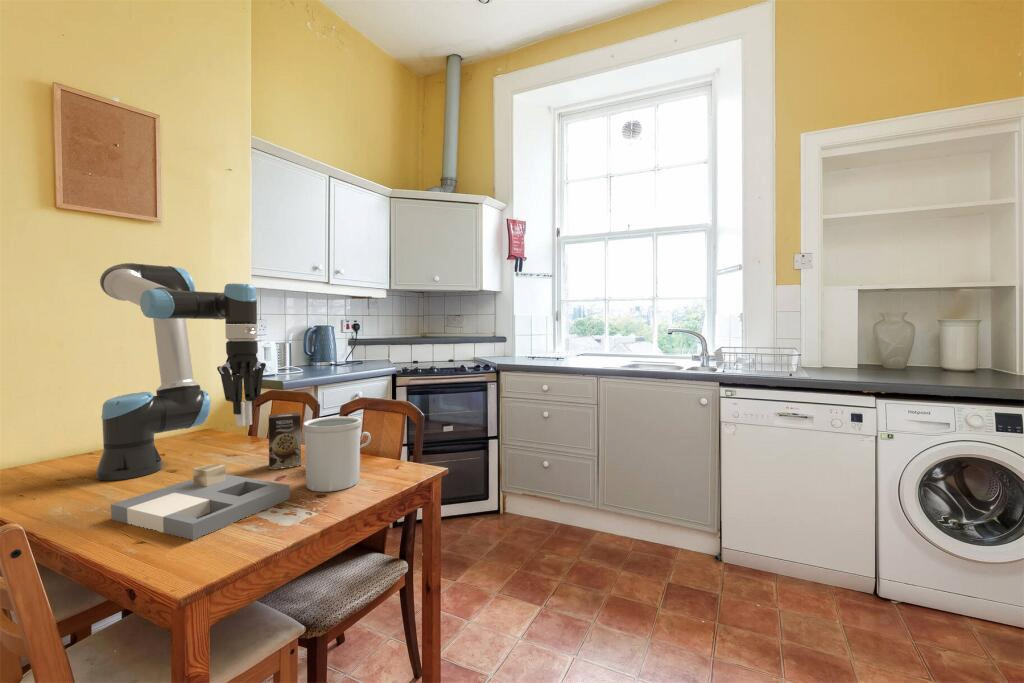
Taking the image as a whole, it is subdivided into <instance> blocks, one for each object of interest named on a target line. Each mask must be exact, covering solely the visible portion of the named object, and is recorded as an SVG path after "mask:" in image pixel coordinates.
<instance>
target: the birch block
mask: <svg viewBox="0 0 1024 683" xmlns="http://www.w3.org/2000/svg"><path fill="white" fill-rule="evenodd" d="M226 469H227V468H226V465H225V464H218V463H209V464H206V465H203V466H198V467H195V468H193V470H192V471H193V473H192V475H193V476H192V477H193V478H192V479H193V480H194V485H199V486H205V487H208V486H211V485H214V484H217V483H220V482H223V481H226V474H227V473H226Z"/></svg>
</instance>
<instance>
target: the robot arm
mask: <svg viewBox="0 0 1024 683" xmlns="http://www.w3.org/2000/svg"><path fill="white" fill-rule="evenodd" d="M99 284H100V288H101V289H102V291H103V292H104V293H105V294H106V295H107V296H109V297H111V298H113V299H115V300H117V301H125V302H126V301H127V302H130V303H133V304H135V305H137V306H138V307H140V310H141V313H142V314H143V316H144V317H146V318H149V319H152V323H153V328H154V330H153V331H154V337H155V344H156V353H157V359H158V360H157V361H158V367H159V368H158V369H159V375H160V376H159V377H160V386H159V387H158V388H157V389H156V391H155V392H156V394H155V395H154V394H153V392H150V391H142V392H135V393H134V392H133V393H129V394H128V393H127V394H123V395H118V396H116V397H112V398H109V399H107V400H105V402H104V403H103V404H102V407H101V408H102V409H101V410H102V411H101V419H102V439H103V440H102V442H103V449H102V450H103V451H102V454H101V456H100V458H99V459H100V460H99V462H98V465H97V467H96V471H95V473H96V475H95V477H96V479H97V480H98V481H122V480H128V479H135V478H139V477H143V476H144V477H145V476H147V475H150V474H153V473H156V472H158V471H160V470H162V468H163V460H162V458H161V456H160V453H159V451H158V449H157V446H156V445H155V434H161V433H165V432H172V431H178V430H183V429H187V430H188V429H191V428H194V427H198V426H199V427H200V426H201V425H203V424H204V423H205V422H206V421H207V419H208V417H209V415H210V411H211V397H210V395H209V393H208V392H207V391H206V390H203V389H201V384H200V383H198V382H196V381H195V380H194V372H193V371H194V370H193V364H192V358H191V357H192V356H191V352H190V351H191V350H190V342H189V335H188V326H187V319H190V320H193V319H195V320H197V319H198V320H201V319H202V320H225V326H224V328H225V339H226V340H227V341H226V342H225V352H226V353H225V354H226V355H227V358H226V361H225V363H224V364H222V365H220V366H219V365H218V366H217V367H216V369H217V371H218V373H219V375H220V378H221V383H222V388H223V389H222V390H223V394H224V399H225V401H226V402H230V403H232V408H233V410H232V411H233V415H235V426H237V427H245V426H246V425H247V426H249V425H250V426H251V425H253V412H254V410H255V407H254V406H255V405H254V404H255V403H254V402H256V401H257V400H258V398H260V397H261V393H262V384H263V378H264V377H263V376H264V371H265V369H266V367H267V364H266V362H261V361H259V359H258V356H257V354H258V351H259V350H258V348H259V346H258V345H259V343H258V341H257V340H256V339H257V338H258V306H257V305H258V303H257V302H258V297H257V291H256V289H257V288H256V287H255V285H253V284H251V283H250V284H249V283H226V284H225V286H224V289H223V292H212V291H197V290H196V285H195V282H194V279H193V276H192V275H191V274H190V273H189V271H187V270H186V269H185V268H182V267H176V266H175V267H174V266H170V265H168V266H165V265H153V264H144V263H143V264H142V263H141V264H139V263H134V262H128V263H127V262H126V263H120V264H115V265H113V266H110V267H108V268H107V269H105V270H104V271H103V272H102V274H101V276H100V279H99ZM243 392H244V399H245V400H243Z"/></svg>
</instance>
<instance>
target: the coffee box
mask: <svg viewBox="0 0 1024 683" xmlns="http://www.w3.org/2000/svg"><path fill="white" fill-rule="evenodd" d="M301 422H302V420H301V413H300V412H289V413H286V412H285V413H276V414H275V413H274V414H268V470H269V469H273V470H276V469H275V468H281V467H289V466H297V465H301V466H302V426H301V425H302V423H301ZM297 467H298V466H297ZM289 468H290V467H289ZM281 469H282V468H281Z"/></svg>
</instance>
